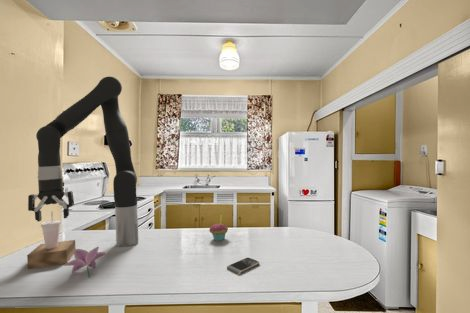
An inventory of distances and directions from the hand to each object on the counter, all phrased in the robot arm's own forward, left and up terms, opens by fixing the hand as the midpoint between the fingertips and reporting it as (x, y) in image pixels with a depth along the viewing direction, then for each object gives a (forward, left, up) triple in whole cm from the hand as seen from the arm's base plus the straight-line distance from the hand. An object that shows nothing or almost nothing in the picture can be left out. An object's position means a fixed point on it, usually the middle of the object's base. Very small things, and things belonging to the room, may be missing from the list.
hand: (52, 219), depth 95 cm
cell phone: (-66, +35, -17) cm, 76 cm away
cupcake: (-66, +4, -16) cm, 68 cm away
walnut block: (0, 0, -16) cm, 16 cm away
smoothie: (+1, 0, -11) cm, 11 cm away
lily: (-15, +18, -16) cm, 28 cm away
